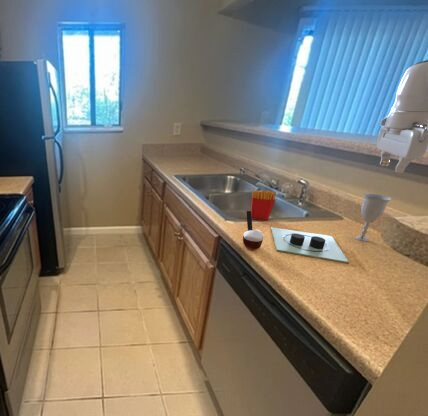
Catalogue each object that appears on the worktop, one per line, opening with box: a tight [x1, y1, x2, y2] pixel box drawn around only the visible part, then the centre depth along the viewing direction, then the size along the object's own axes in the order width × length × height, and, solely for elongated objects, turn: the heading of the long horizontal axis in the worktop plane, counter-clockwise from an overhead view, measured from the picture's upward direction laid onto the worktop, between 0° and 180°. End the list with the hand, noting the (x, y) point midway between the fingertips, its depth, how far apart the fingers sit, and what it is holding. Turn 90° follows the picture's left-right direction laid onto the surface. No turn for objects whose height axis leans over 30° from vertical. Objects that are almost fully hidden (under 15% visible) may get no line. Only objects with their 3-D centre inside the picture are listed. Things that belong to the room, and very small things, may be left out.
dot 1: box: [290, 233, 305, 246], centre depth 99 cm, size 4×4×3 cm
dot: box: [309, 236, 326, 249], centre depth 97 cm, size 4×4×3 cm
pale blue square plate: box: [270, 226, 350, 264], centre depth 100 cm, size 20×20×1 cm
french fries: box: [250, 189, 277, 221], centre depth 120 cm, size 9×4×13 cm, turn 72°
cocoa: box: [242, 210, 265, 250], centre depth 97 cm, size 10×6×12 cm, turn 159°
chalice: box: [354, 193, 392, 242], centre depth 96 cm, size 7×7×18 cm
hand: (390, 168), depth 84 cm, fingers open, 8 cm apart
